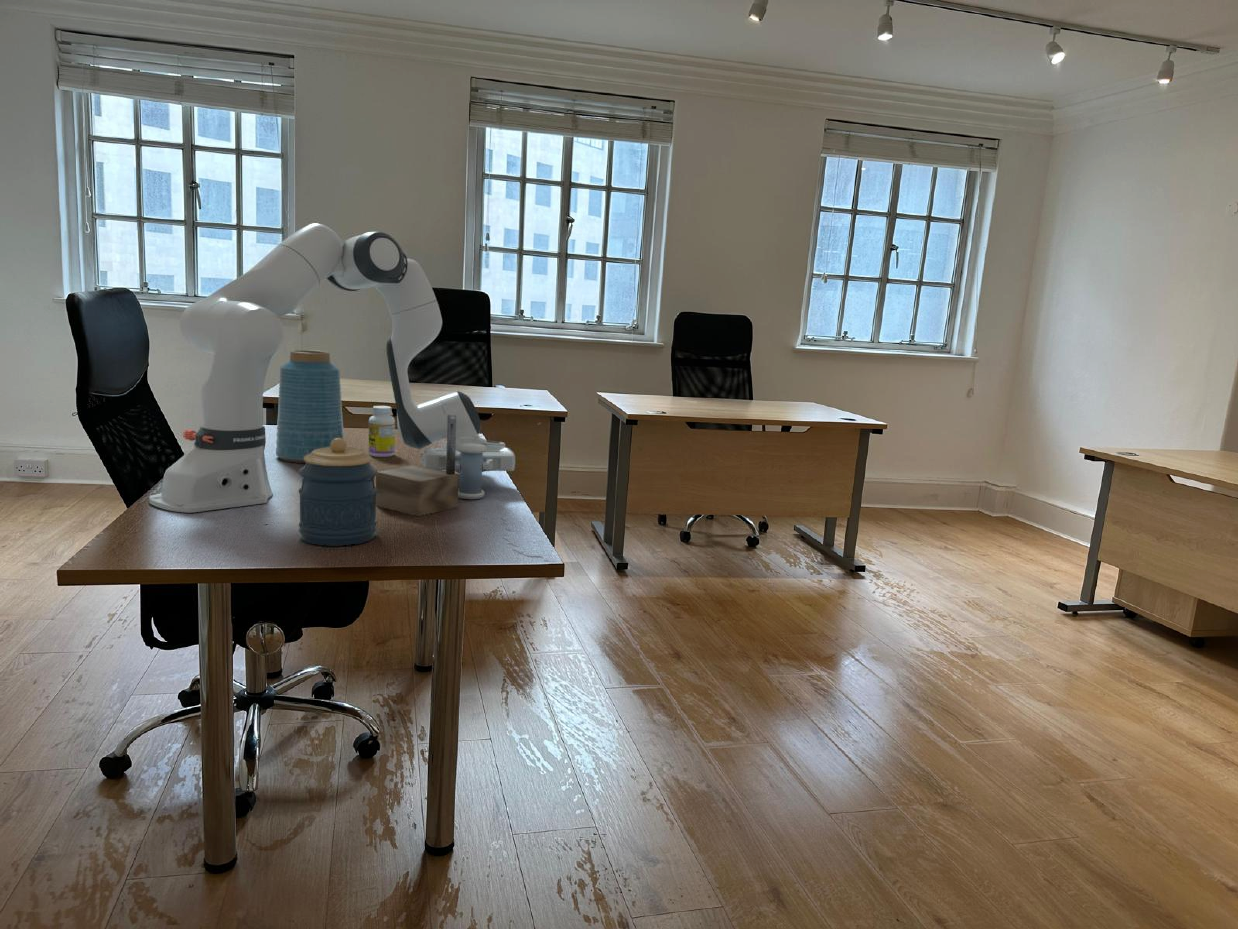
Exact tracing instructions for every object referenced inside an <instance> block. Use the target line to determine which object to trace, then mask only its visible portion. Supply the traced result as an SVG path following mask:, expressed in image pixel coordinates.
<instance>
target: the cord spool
mask: <svg viewBox="0 0 1238 929" xmlns="http://www.w3.org/2000/svg"><path fill="white" fill-rule="evenodd" d="M457 450H458V451H459V452H460V474H459V476H458V499H465V500H480V499H482V498H485V491H484V490H483V488H482V486H483V472H482V463H483V452H486V446H485V445H481V444H459V445H458V447H457Z"/></svg>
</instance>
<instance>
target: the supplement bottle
mask: <svg viewBox="0 0 1238 929" xmlns="http://www.w3.org/2000/svg"><path fill="white" fill-rule="evenodd" d="M372 413H373V415H371V416H370V417H369V419H368V455H370V456H371V457H374V458H389V457H390V458H391V457H393V456H394V455H395V453H396V452H395V448H396V447H395V446H396V442H395V441H396V419H395V418H394V417H393V416H392V415H391V413H392V407H391V406H389V405H373V407H372Z"/></svg>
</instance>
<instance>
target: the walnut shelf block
mask: <svg viewBox="0 0 1238 929" xmlns="http://www.w3.org/2000/svg"><path fill="white" fill-rule="evenodd" d="M459 475H460V474H459V473H457V472H455V474H452V475H450V474H446V470H438V469H433V468H428V467H424V466H423V465H418V464H415V465H407V466H402V467H397V468H389V469H386V470H385V469H384V470H380V471H377V474H376V476H375V487H376V489H377V492H376V507H378V508H383V507H384V509H387V508H388V509H387V510H391V511H395V510H397V511H396V512H398V511H400V512H399V513H402V512H403V513H402V514H406V513H409V514H408V515H410V514H412V515H411V516H414V515H416V516H415V517H418V516H420V517H423V515H424V516H427V515H426V514H428V515H430V514H429V513H432V514H436V513H439V512H438V511H440V512H443V511H442V510H444V511H447V509H448V510H450V508H452V509H455V508H454V507H456V508H458V504H459V497H458V489H459ZM435 512H436V513H435Z"/></svg>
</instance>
